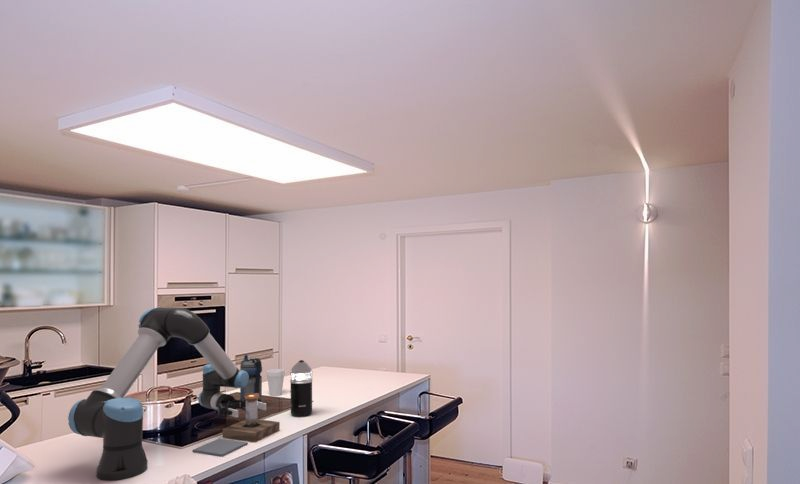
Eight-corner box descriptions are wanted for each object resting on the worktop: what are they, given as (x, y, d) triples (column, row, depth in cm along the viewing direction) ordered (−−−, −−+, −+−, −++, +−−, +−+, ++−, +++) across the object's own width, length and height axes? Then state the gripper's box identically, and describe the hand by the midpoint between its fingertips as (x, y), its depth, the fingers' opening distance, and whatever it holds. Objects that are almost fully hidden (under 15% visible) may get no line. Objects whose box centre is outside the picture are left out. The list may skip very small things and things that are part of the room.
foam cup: (266, 393, 282) (266, 369, 283) (283, 392, 285) (283, 368, 285) (267, 397, 273) (267, 372, 274) (285, 396, 276) (285, 371, 276)
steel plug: (252, 437, 207) (252, 396, 208) (240, 435, 210) (241, 395, 211) (262, 432, 213) (262, 393, 214) (250, 431, 215) (250, 392, 216)
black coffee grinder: (290, 418, 233) (290, 362, 235) (289, 412, 243) (289, 359, 245) (313, 416, 236) (313, 361, 237) (311, 410, 246) (311, 357, 247)
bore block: (254, 442, 201) (254, 433, 201) (222, 437, 207) (222, 428, 207) (279, 430, 216) (279, 421, 216) (248, 426, 222) (248, 418, 222)
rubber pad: (222, 456, 186) (222, 454, 186) (192, 451, 191) (192, 449, 191) (247, 444, 198) (247, 442, 199) (219, 440, 204) (219, 438, 204)
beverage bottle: (250, 412, 245) (250, 359, 246) (235, 407, 253) (235, 356, 255) (268, 407, 252) (268, 356, 254) (253, 403, 261) (253, 353, 263)
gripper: (247, 405, 235) (276, 413, 222) (196, 417, 216) (224, 427, 203) (247, 388, 236) (276, 395, 222) (196, 399, 216) (225, 407, 203)
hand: (252, 410), depth 212 cm, fingers open, 13 cm apart
